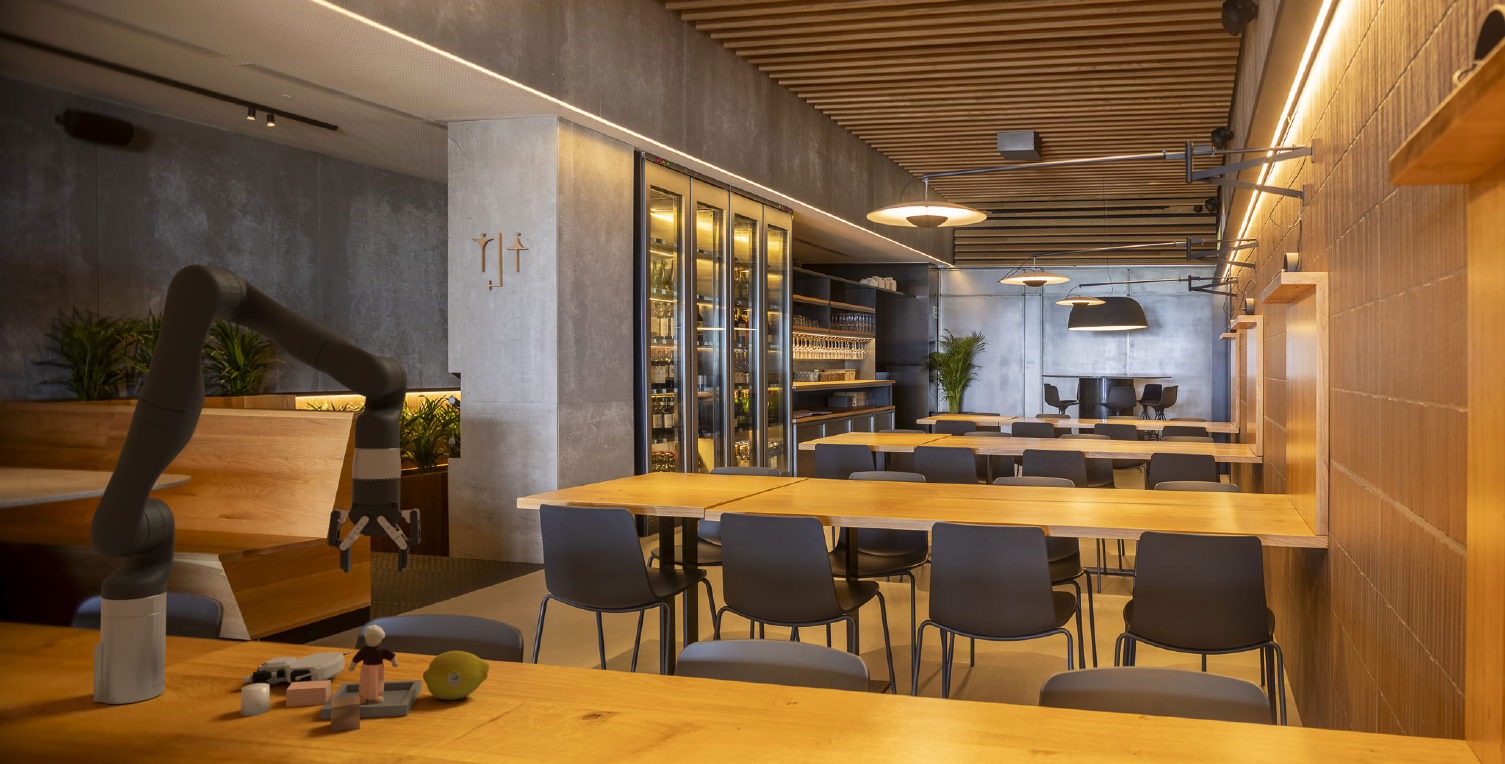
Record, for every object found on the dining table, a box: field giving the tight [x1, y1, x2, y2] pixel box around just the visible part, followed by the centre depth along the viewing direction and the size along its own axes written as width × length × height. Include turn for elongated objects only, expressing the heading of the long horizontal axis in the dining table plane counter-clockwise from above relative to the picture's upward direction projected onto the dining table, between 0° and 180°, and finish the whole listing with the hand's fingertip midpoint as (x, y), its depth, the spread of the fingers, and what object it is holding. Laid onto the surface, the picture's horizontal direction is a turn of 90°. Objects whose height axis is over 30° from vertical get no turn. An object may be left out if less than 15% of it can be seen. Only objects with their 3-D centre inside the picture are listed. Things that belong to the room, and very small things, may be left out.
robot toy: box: [242, 650, 353, 685], centre depth 164 cm, size 12×4×15 cm
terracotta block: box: [285, 679, 332, 708], centre depth 154 cm, size 6×4×3 cm, turn 104°
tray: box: [320, 679, 423, 721], centre depth 153 cm, size 13×13×2 cm
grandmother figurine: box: [348, 624, 399, 704], centre depth 153 cm, size 8×4×13 cm, turn 117°
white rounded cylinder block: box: [240, 682, 271, 717], centre depth 148 cm, size 4×4×4 cm
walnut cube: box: [330, 696, 361, 734], centre depth 142 cm, size 4×4×4 cm
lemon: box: [422, 650, 490, 701], centre depth 156 cm, size 11×8×8 cm
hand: (374, 571), depth 153 cm, fingers open, 8 cm apart
